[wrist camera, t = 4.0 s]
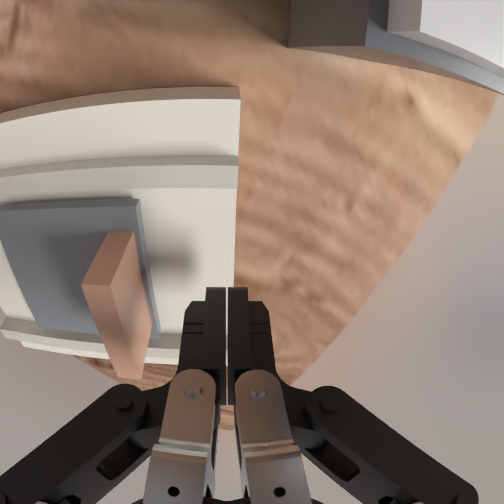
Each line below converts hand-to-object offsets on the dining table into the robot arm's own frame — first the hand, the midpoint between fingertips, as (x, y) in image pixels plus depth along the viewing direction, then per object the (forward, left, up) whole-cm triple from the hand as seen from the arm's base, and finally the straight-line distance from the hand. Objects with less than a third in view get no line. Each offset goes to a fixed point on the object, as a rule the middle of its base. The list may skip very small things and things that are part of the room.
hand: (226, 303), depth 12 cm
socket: (0, -7, -6) cm, 9 cm away
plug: (-11, +4, -6) cm, 13 cm away
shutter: (0, -7, -2) cm, 7 cm away
